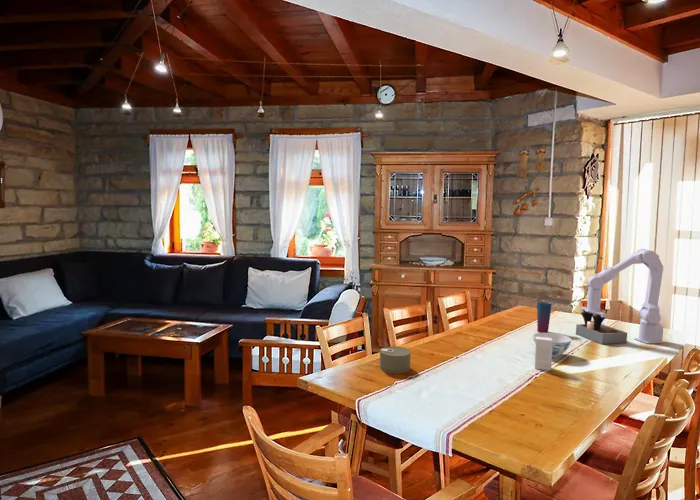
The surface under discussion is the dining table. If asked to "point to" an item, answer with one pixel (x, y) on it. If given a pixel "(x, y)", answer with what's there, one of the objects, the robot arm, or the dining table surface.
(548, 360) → the skincare box
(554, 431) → the dining table surface
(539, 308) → the cup
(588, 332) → the tote
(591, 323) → the terracotta cylinder
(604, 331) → the walnut cube
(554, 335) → the chinaware
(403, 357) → the can
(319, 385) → the dining table surface
